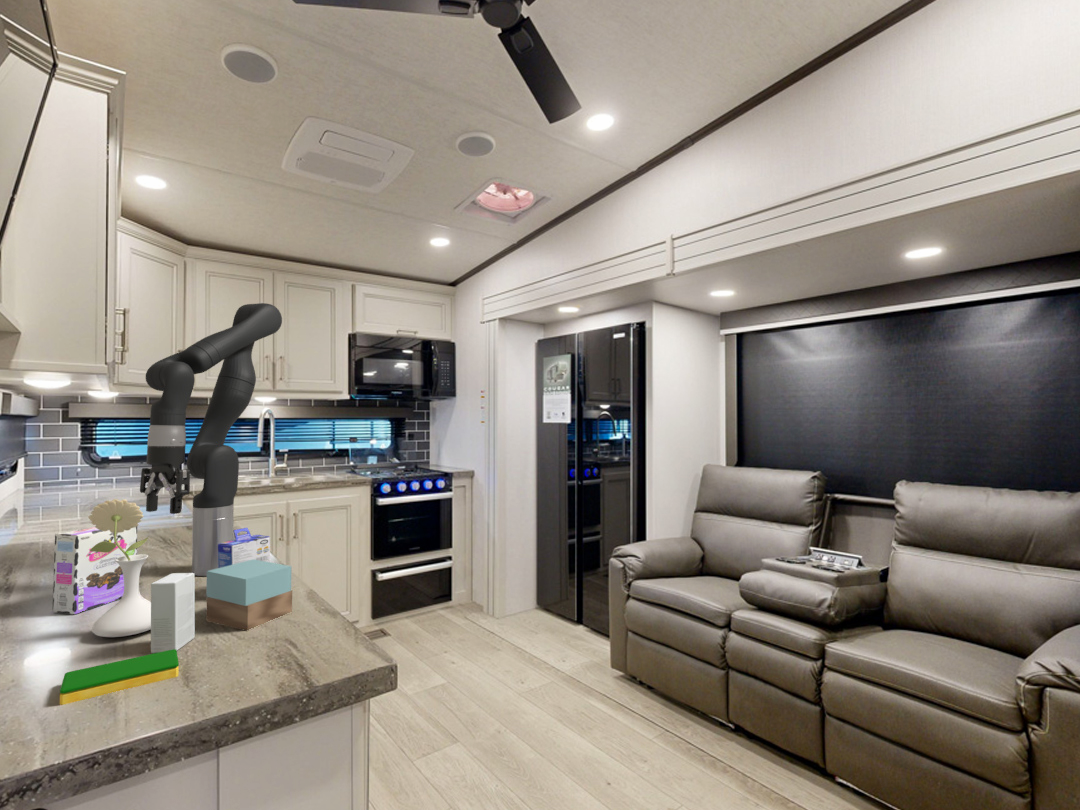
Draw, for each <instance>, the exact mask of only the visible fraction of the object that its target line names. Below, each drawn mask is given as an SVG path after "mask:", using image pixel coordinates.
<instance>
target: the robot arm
mask: <svg viewBox="0 0 1080 810" xmlns="http://www.w3.org/2000/svg"><path fill="white" fill-rule="evenodd" d="M282 323H283V317H282V313H281V312H280V310H279V309H278V308H277V307H276V306H275V305H273V304H272V303H271V304H270V303H267V302H266V303H263V302H260V303H247V304H243V305H241V306H239V307H238V308H237V310H236V311H235V314H234V316H233V321H232V326H231V327H229V328H225V329H223V330H220V331H218V332H215V333H212V334H210V335H208V336H206V337H203V338H201V339H200V340H198V341H196V342H195V343H193V344H191V345H190V346H188V347H187V348H185V349H183V350H180V351H179V352H177V353H173V354H171V355H169V356H167V357H164V358H162V359H160V360H158V361H156V362H155V363H153V364H152V365H150V366H149V368H148V369H147V371H146V373H145V382H146V383H147V385H148V386H149V387H150V388H151V389H153V390H156V391H159V392H162V394H161V397H160V399H159V400H156V401H154V402H153V403H152V404H151V407H150V413H149V414H150V415H149V416H150V418H149V427H148V428H149V430H148V432H147V433H148V434H147V447H146V448H147V449H146V450H147V451H146V464H148V465H151V467H143V468H142V469H141V472H140V473H141V474H140V484H139V485H140V486H139V492H140V493H141V494H142V493H143V494H144V496H145V497H146V503H145V511H146V512H149V513H151V512H156V511H158V505H159V495H158V494H159V492H160V491H161V490H162V489H163V488H164V489H165V490H166V491H168V493H169V495H170V499H169V500H170V502H169V514H170V515H171V514H172V515H175V514H181V513H182V508H183V498H184V497H185V496H186V495H189V494H190V492H191V489H190V488H191V486H190V485H191V483H190V482H191V479H190V478H191V476H192V477H193V478H195V479H200V480H203V486H202V490H201V491H200V492H199V493H197V494H196V495H194V496H193V498H192V527H191V529H192V530H191V533H192V534H191V535H192V537H191V539H192V540H191V541H192V542H191V544H192V545H191V553H192V554H191V573H194V574H195V577H196V576H197V577H198V576H199V577H205V576H206V577H207V571H210V570H213V569H217V568H218V544H220V543H224V542H228V541H232V540H236V539H235V535H234V532H233V530H234V508H235V507H234V506H235V505H234V501H235V497H236V495H237V493H238V484H239V470H240V463H239V462H240V461H239V456H238V453H237V451H236V450H235V448H233V447H231V446H230V445H227V444H225V442H226V438H227V436H228V434H229V431H230V429H231V428H232V426H233V425H234V424H235V422H237V420H238V419H239V418H240V417H241V415H242V414H243V413H244V411H245V410H246V409H247V407H248V406H249V405H250V402H251V401H252V400H251V399H252V396H253V394H254V390H255V386H256V382H257V377H256V376H257V375H256V371H255V367H254V362H253V358H252V356H253V355H252V354H253V349H254V346H255V342H257V341H259V340H261V339H264V338H266V337H269V336H271V335H273V334H276V333H277V332H278V331H279V330H280V328H281V327H282ZM220 362H222V365H221V369H220V371H219V373H218V376H217V379H216V381H215V385H214V388H213V391H212V394H211V399H210V401H209V404H208V407H207V410H206V412H205V416H204V418H203V420H202V424H201V426H200V428H199V431H198V432H197V433H198V434H197V435H196V437H195V439H194V442H193V444H191V445H192V446H191V448H190V451H189V453H188V455H187V459H186V446H187V445H186V441H187V440H186V439H187V432H186V417H187V415H186V414H187V407H188V404H189V402H190V399H191V396H192V393H193V390H194V388H195V387H194V386H195V381H196V380H195V379H196V378H195V375H197V374H203V373H205V372H207V371H209V370H210V369H212V368H213V367H215V366H216V365H217V364H220ZM185 462H186V467H187V468H185V469H181V468H180V467H181V466H180V465H183V464H184V463H185Z"/></svg>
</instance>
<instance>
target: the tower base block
mask: <svg viewBox="0 0 1080 810" xmlns="http://www.w3.org/2000/svg"><path fill="white" fill-rule="evenodd" d="M290 612H292V613H293V590H292V589H291V591H289V592H286V593H283V594H280V595H277V596H274V597H271V598H268V599H265V600H262V601H259V602H256V603H253V604H250V605H247V606H244V605H240V604H235V603H231V602H227V601H223V600H219V599H215V598H210V597H206V616H205V618H206V622H210V623H213V622H214V624H217V623H218V624H219V625H222V626H226V627H229V628H235V629H238V630H242V629H244V630H243V631H246V630H248V631H250V630H249V629H251V628H253V629H255V628H254V627H256V626H258V625H261V624H263V625H265V624H264V623H266V622H268V621H270V620H273V619H275V618H278V617H280V616H283V615H285V614H287V613H290ZM278 619H279V618H278ZM273 621H274V620H273ZM268 623H269V622H268ZM218 624H217V625H218ZM266 624H267V623H266ZM261 626H262V625H261ZM258 627H259V626H258ZM256 628H257V627H256ZM251 630H252V629H251Z"/></svg>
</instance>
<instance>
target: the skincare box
mask: <svg viewBox="0 0 1080 810" xmlns="http://www.w3.org/2000/svg"><path fill="white" fill-rule="evenodd" d="M195 577H196V575H195V574H194V573H192V572H175V573H174V572H173V573H169V574H168V575H165V576H164V577H162V578H160V579H158V580H156V581H154V582H152V583H150V602H151V629H150V653H151V654H154V653H159V652H163V651H168V650H173V649H176V650H177V651H178V650H180V649H181V648H182V647H184V646H186V645H187V644H188V643H189V642H191V640H193V639H195V633H196V631H195V627H196V625H195V623H196V622H195V621H196V620H195V619H196V617H195V615H196V613H195V609H196V608H195V606H196V605H195V602H196V601H195V592H196V591H195V590H196V589H195V584H196V582H195V581H196V580H195Z"/></svg>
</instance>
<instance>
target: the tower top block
mask: <svg viewBox="0 0 1080 810" xmlns="http://www.w3.org/2000/svg"><path fill="white" fill-rule="evenodd" d="M205 588H206V589H205V590H206V592H205V593H206V596H205V597H206V598H207V597H210V598H215V599H219V600H223V601H227V602H231V603H235V604H240V605H244V606H247V605H250V604H253V603H256V602H259V601H262V600H265V599H268V598H271V597H274V596H277V595H280V594H283V593H286V592H289V591H291V590H292V565H288V564H287V565H286V564H281V563H276V562H271V561H270V562H265V561H260V560H254V559H253V560H249V561H245V562H241V563H237V564H233V565H229V566H225V567H221V568H217V569H213V570H210V571H207V576H206V587H205Z"/></svg>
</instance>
